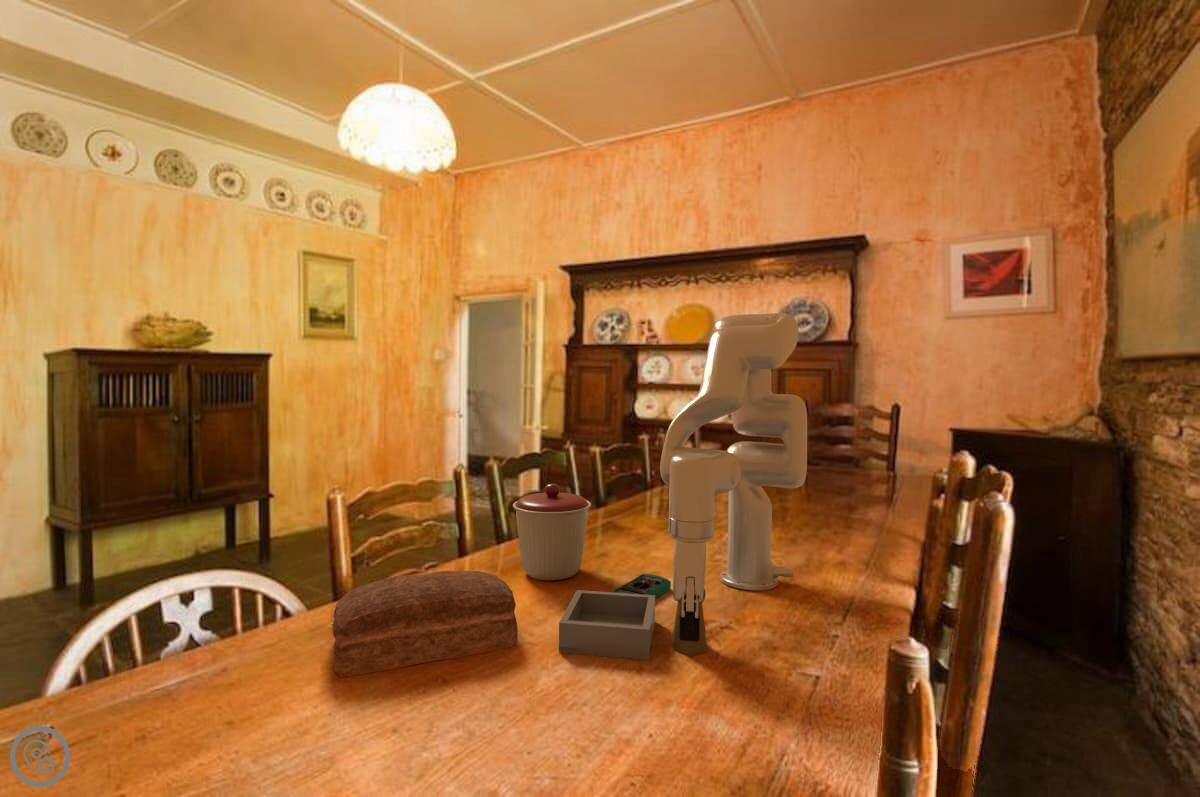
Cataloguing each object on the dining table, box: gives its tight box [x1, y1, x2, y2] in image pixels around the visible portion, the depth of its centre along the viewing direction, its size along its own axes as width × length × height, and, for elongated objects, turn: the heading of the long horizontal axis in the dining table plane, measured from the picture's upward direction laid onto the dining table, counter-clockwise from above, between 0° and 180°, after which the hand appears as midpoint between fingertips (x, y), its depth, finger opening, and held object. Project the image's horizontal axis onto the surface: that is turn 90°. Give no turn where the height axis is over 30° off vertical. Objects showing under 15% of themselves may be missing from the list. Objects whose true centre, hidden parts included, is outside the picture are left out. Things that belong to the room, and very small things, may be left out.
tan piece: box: [671, 580, 708, 656], centre depth 98 cm, size 6×6×11 cm
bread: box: [332, 570, 519, 678], centre depth 99 cm, size 17×29×11 cm, turn 113°
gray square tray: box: [558, 589, 656, 661], centre depth 102 cm, size 15×15×5 cm
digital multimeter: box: [611, 573, 672, 600], centre depth 121 cm, size 7×15×3 cm, turn 147°
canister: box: [512, 483, 592, 581], centre depth 134 cm, size 18×18×21 cm
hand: (689, 634), depth 98 cm, fingers closed on tan piece, 2 cm apart
